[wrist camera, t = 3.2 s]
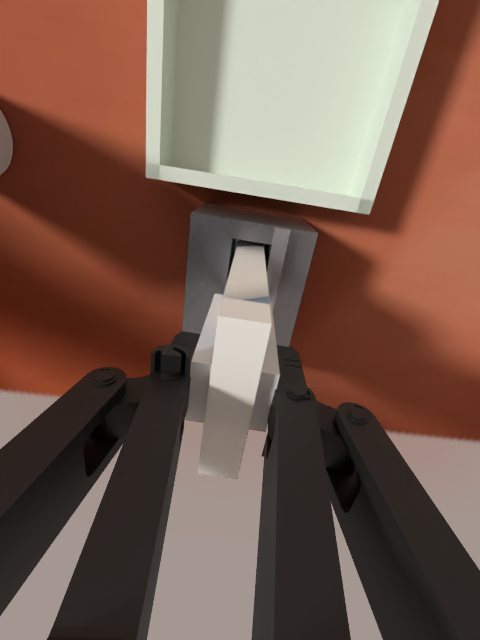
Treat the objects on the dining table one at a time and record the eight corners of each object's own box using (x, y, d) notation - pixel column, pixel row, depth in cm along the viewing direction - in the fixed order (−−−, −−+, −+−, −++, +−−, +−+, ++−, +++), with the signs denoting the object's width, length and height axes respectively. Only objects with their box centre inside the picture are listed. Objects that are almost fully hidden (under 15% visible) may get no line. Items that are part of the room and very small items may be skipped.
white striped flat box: (227, 319, 24) (197, 473, 12) (240, 232, 21) (217, 315, 9) (247, 322, 24) (237, 479, 12) (262, 236, 21) (272, 324, 9)
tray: (162, 177, 21) (145, 177, 18) (170, -92, 15) (148, -160, 12) (352, 208, 21) (369, 214, 18) (428, -44, 16) (471, -98, 13)
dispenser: (195, 324, 26) (177, 369, 20) (207, 202, 22) (188, 213, 16) (275, 337, 26) (280, 385, 20) (302, 218, 22) (320, 235, 16)
